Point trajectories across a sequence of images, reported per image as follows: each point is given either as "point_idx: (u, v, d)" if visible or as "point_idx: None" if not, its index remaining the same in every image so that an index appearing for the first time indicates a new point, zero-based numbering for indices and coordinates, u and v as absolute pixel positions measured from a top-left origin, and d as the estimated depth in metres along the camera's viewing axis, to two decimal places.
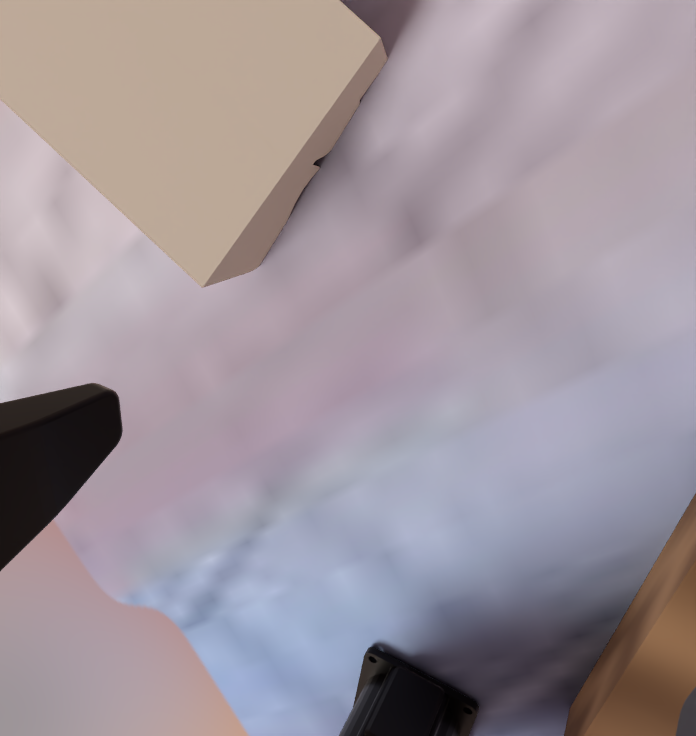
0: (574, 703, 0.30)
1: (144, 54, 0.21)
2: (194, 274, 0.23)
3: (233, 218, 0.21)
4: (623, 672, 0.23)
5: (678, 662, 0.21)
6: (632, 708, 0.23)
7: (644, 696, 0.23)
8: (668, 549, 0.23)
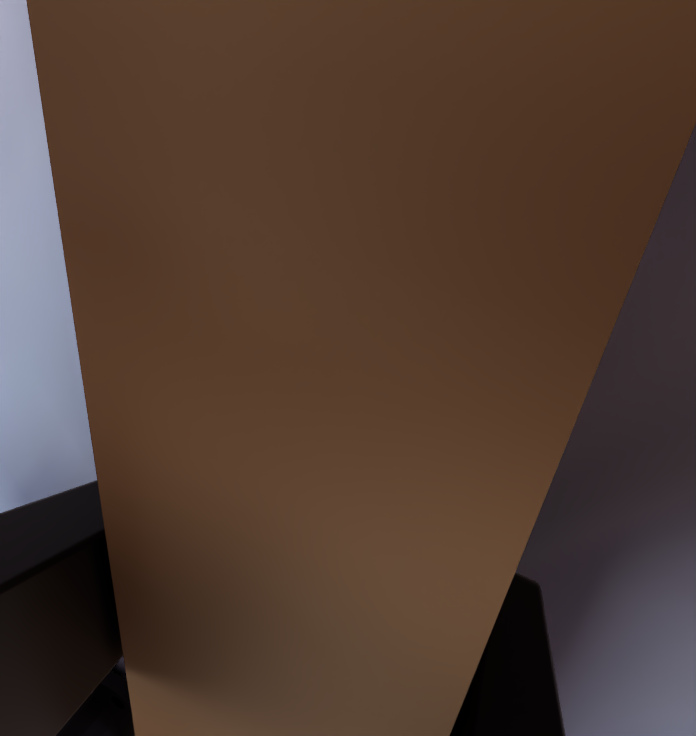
0: None
1: None
2: None
3: None
4: (115, 575, 0.07)
5: (192, 514, 0.06)
6: (178, 690, 0.08)
7: (180, 649, 0.07)
8: None
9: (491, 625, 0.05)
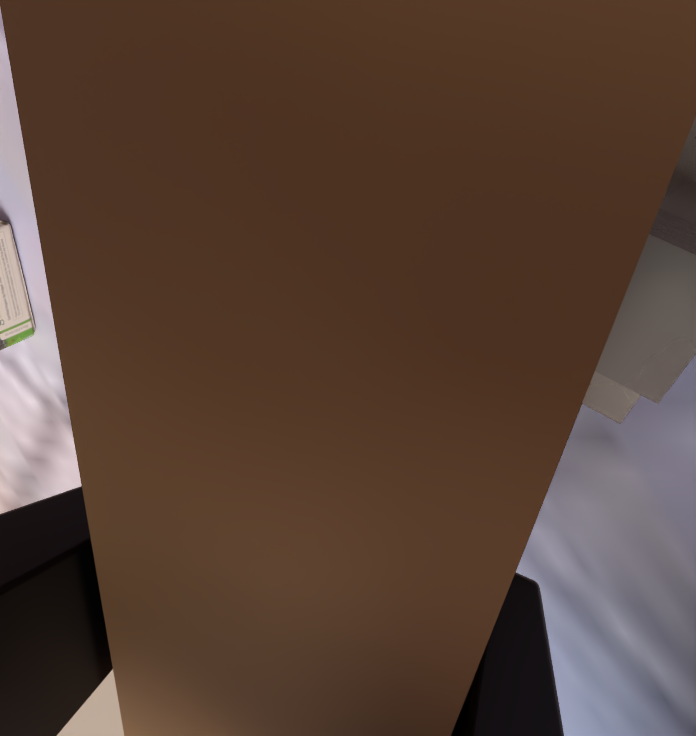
0: None
1: None
2: None
3: None
4: (103, 588, 0.07)
5: (179, 528, 0.06)
6: (168, 704, 0.08)
7: (170, 663, 0.07)
8: None
9: (483, 645, 0.05)
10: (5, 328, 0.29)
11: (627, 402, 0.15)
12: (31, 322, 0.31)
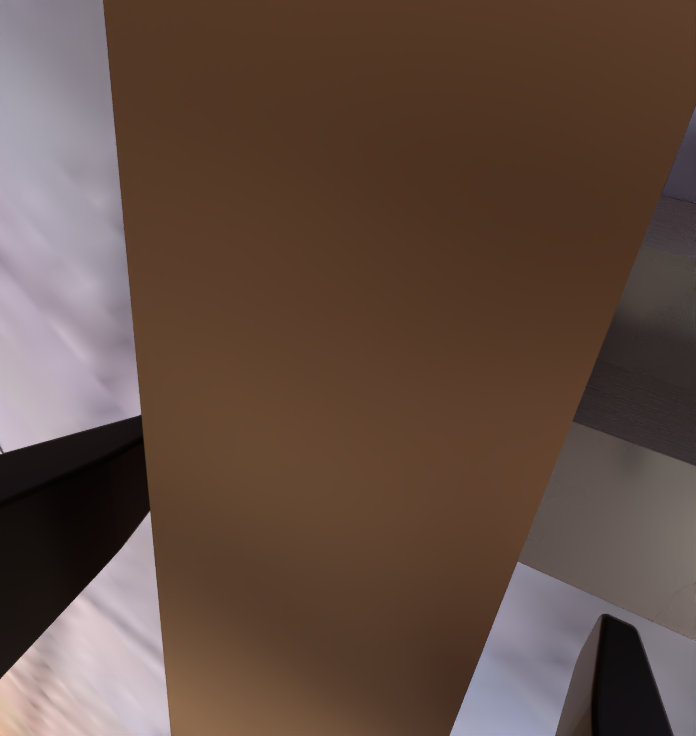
0: None
1: None
2: None
3: None
4: (156, 536, 0.08)
5: (234, 471, 0.06)
6: (213, 647, 0.08)
7: (217, 605, 0.08)
8: None
9: (514, 562, 0.05)
10: None
11: None
12: None
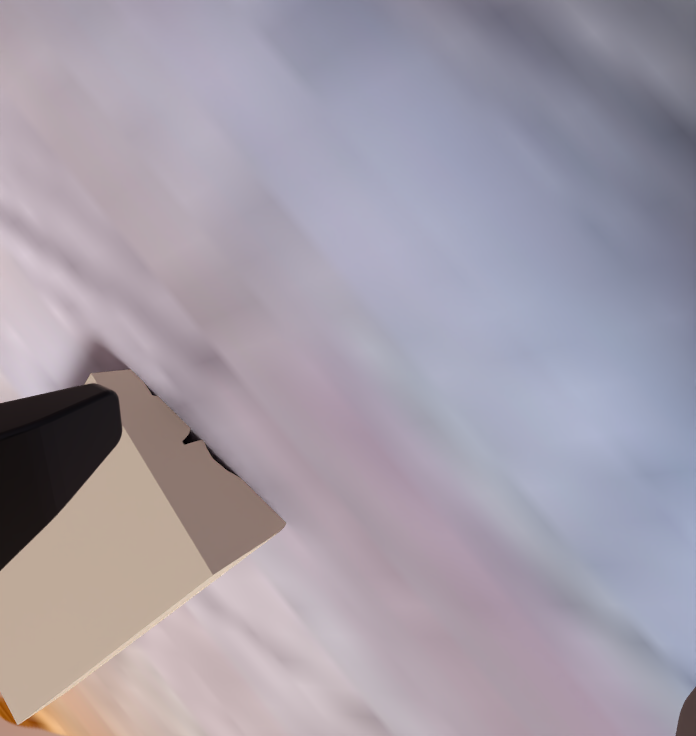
0: None
1: (105, 528, 0.30)
2: (205, 575, 0.26)
3: (172, 520, 0.26)
4: None
5: None
6: None
7: None
8: None
9: None
10: None
11: None
12: None
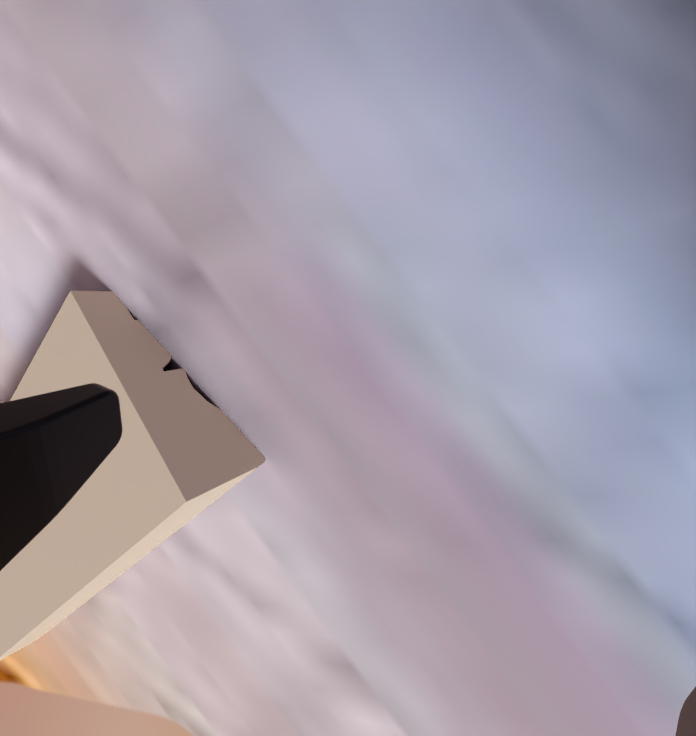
0: None
1: None
2: (179, 502, 0.25)
3: (147, 445, 0.25)
4: None
5: None
6: None
7: None
8: None
9: None
10: None
11: None
12: None
